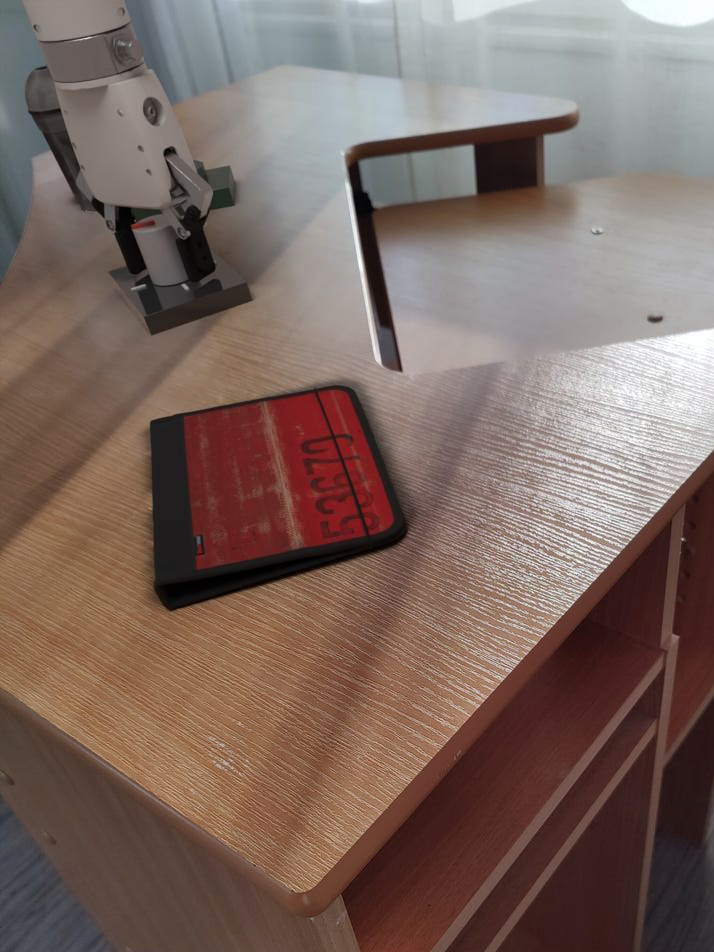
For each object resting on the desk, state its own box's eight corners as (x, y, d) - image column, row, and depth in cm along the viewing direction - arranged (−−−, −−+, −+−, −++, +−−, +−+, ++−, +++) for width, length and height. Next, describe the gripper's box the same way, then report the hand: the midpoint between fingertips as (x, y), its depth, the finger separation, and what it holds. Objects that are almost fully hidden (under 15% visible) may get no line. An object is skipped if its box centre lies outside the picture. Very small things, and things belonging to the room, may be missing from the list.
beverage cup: (62, 209, 114) (-17, 26, 100) (114, 191, 117) (44, 11, 103) (83, 220, 110) (4, 30, 95) (136, 201, 112) (66, 15, 98)
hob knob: (190, 262, 86) (170, 206, 83) (202, 276, 83) (182, 218, 80) (147, 276, 85) (125, 219, 81) (157, 290, 82) (135, 232, 79)
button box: (137, 224, 106) (123, 189, 103) (143, 201, 112) (131, 167, 110) (234, 206, 107) (224, 170, 104) (235, 183, 113) (225, 149, 110)
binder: (150, 584, 52) (145, 417, 66) (163, 613, 53) (155, 444, 68) (411, 521, 54) (350, 374, 69) (416, 551, 56) (356, 401, 70)
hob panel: (119, 300, 90) (106, 270, 87) (211, 270, 92) (201, 240, 90) (156, 348, 80) (143, 315, 78) (256, 313, 83) (246, 280, 81)
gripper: (202, 43, 70) (266, 265, 83) (58, 46, 77) (137, 249, 90) (136, 70, 66) (214, 299, 78) (-10, 70, 73) (83, 280, 85)
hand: (172, 271), depth 84 cm, fingers open, 7 cm apart
